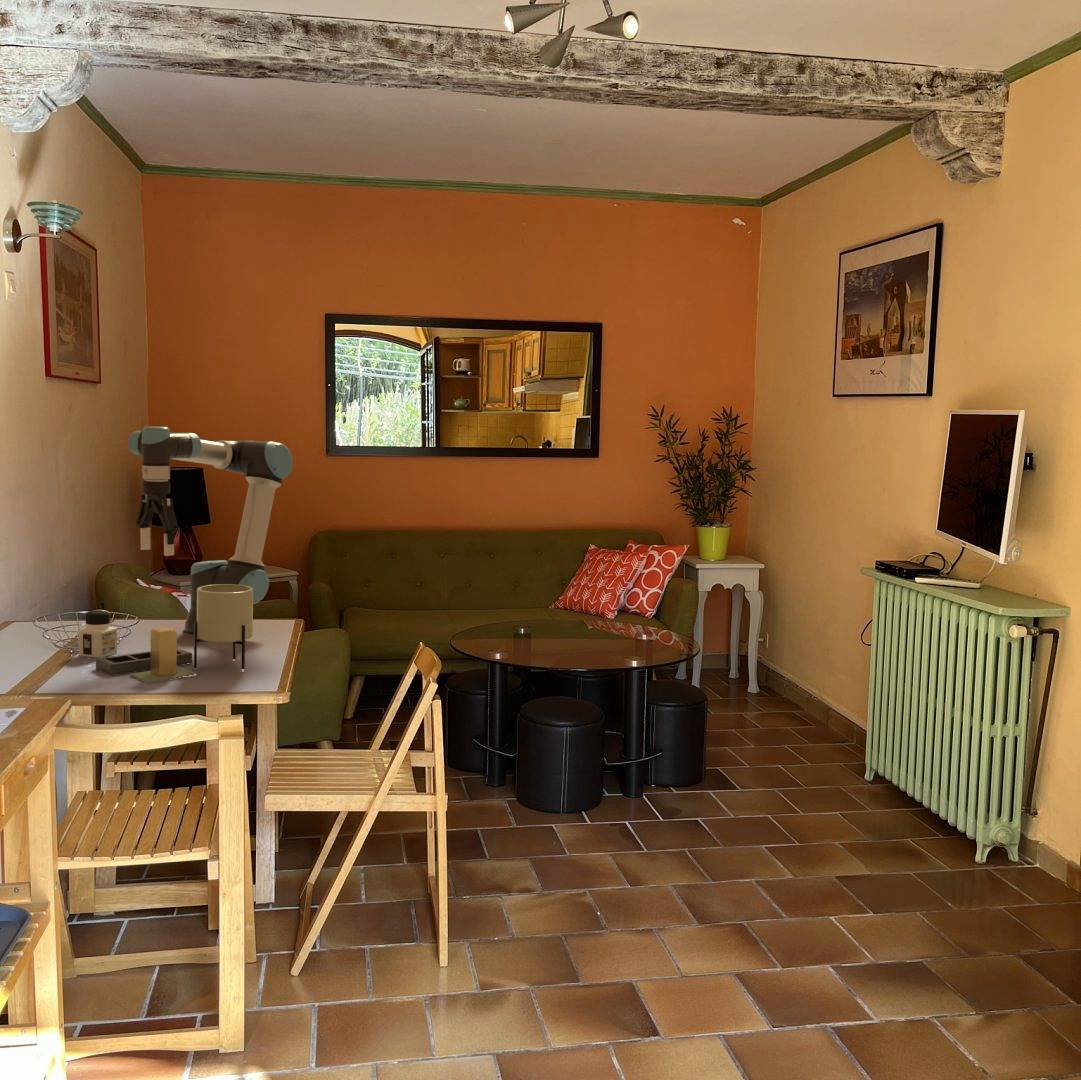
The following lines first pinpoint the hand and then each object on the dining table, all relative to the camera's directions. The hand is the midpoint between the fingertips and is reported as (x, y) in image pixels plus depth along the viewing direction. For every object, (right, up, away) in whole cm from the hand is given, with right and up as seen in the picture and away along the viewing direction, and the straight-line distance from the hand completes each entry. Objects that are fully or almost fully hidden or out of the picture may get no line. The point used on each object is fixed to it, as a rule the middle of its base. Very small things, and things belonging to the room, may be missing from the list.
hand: (157, 552), depth 308 cm
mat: (+9, -34, -19) cm, 40 cm away
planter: (+22, -33, -6) cm, 40 cm away
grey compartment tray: (0, -32, -9) cm, 33 cm away
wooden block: (+9, -33, -19) cm, 39 cm away
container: (-18, -30, +2) cm, 35 cm away
